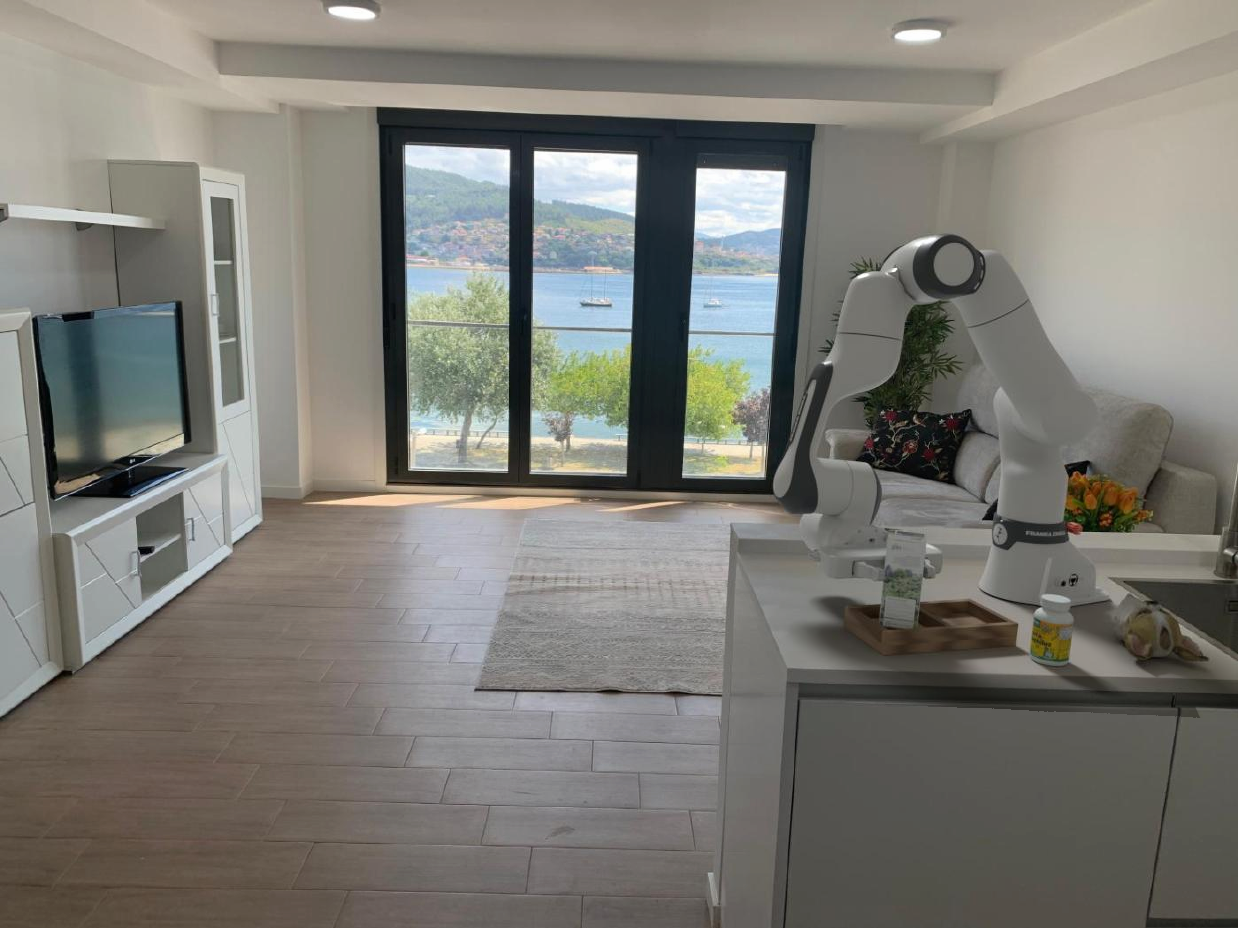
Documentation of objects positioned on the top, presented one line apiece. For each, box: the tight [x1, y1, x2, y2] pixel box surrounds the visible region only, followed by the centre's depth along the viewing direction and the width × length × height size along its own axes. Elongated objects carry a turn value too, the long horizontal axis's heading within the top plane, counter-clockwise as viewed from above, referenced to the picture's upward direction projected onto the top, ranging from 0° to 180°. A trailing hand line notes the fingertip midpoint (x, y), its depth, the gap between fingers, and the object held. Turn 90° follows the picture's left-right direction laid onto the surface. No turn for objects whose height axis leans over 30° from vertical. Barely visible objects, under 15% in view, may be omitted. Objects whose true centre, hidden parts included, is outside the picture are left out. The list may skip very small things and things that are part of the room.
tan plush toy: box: [1110, 593, 1210, 662], centre depth 145 cm, size 11×9×15 cm
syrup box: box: [879, 528, 927, 630], centre depth 146 cm, size 6×6×14 cm
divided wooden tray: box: [843, 598, 1019, 656], centre depth 149 cm, size 23×12×4 cm, turn 106°
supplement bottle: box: [1029, 594, 1075, 667], centre depth 141 cm, size 5×5×10 cm
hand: (906, 575), depth 145 cm, fingers closed on syrup box, 7 cm apart
